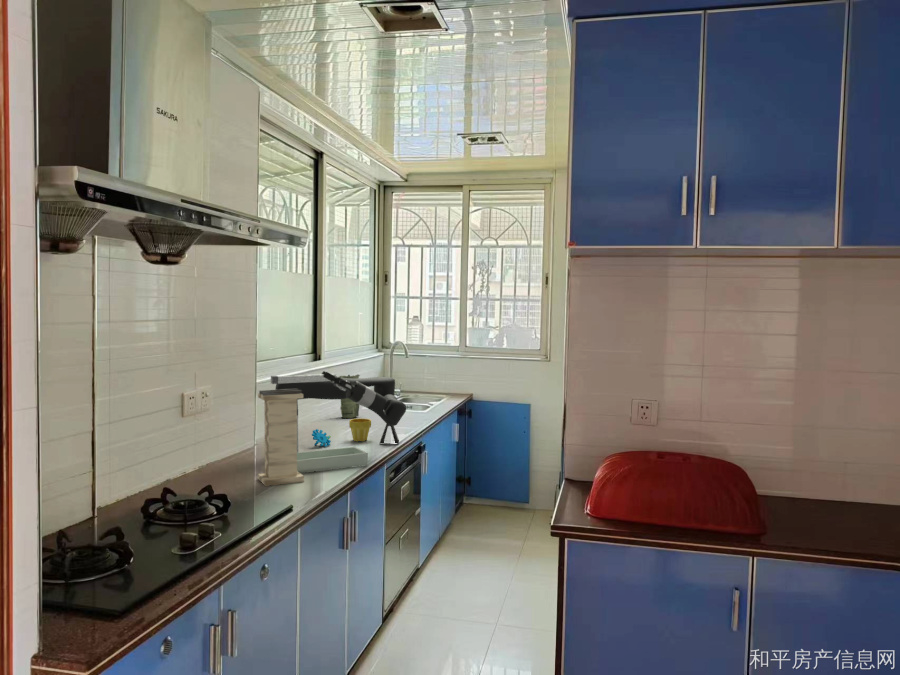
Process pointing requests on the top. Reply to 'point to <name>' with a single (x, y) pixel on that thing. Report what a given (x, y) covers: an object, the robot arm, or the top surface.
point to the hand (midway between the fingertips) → (323, 373)
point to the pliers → (392, 433)
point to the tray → (330, 459)
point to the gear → (321, 438)
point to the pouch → (349, 404)
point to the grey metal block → (298, 378)
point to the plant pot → (360, 428)
